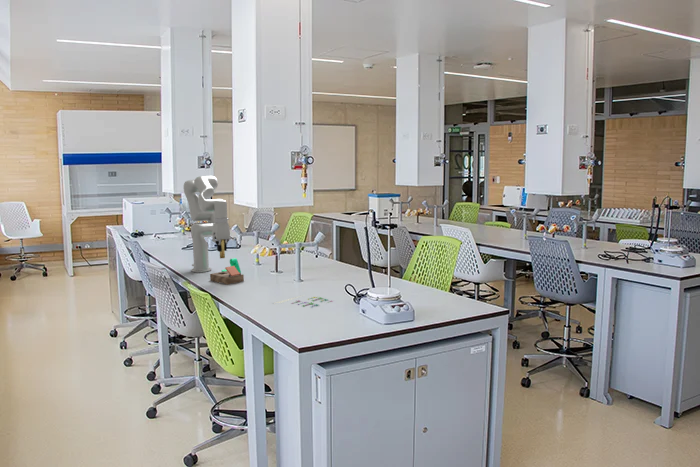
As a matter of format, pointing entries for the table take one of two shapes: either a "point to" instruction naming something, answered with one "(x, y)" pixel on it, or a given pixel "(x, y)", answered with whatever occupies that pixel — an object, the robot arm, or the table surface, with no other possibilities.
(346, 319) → the table surface
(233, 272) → the orange flat plate
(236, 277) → the hitch block
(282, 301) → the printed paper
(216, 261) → the table surface
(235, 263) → the camera mount
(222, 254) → the brass pin
